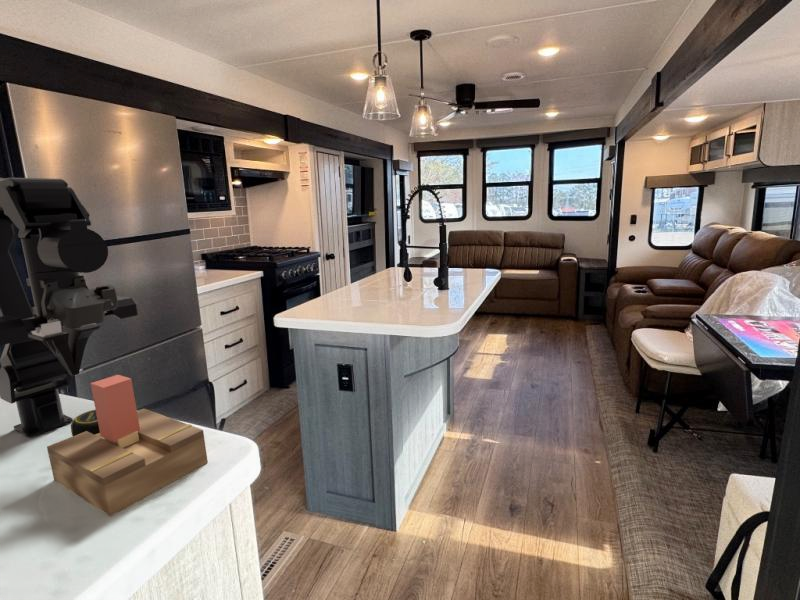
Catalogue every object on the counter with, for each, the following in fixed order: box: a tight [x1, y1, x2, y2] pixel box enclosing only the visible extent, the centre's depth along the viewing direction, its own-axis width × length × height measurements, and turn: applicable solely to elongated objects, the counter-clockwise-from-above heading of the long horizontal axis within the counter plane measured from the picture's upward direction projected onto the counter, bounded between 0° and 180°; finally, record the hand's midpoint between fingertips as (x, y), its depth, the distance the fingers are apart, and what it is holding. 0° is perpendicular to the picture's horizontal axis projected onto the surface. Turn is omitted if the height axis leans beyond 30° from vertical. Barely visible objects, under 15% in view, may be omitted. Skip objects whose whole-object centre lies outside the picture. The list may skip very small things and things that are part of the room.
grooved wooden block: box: [46, 408, 209, 517], centre depth 62 cm, size 15×13×5 cm
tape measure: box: [70, 409, 100, 437], centre depth 73 cm, size 7×7×4 cm
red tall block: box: [90, 374, 140, 448], centre depth 62 cm, size 4×4×9 cm
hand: (74, 374), depth 67 cm, fingers closed
